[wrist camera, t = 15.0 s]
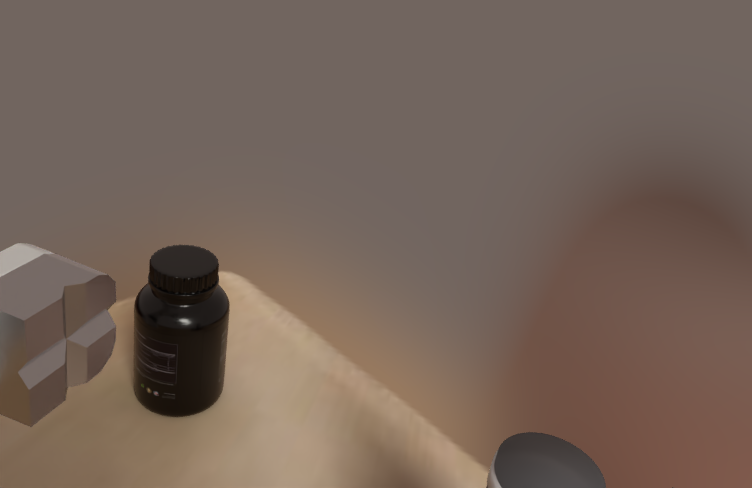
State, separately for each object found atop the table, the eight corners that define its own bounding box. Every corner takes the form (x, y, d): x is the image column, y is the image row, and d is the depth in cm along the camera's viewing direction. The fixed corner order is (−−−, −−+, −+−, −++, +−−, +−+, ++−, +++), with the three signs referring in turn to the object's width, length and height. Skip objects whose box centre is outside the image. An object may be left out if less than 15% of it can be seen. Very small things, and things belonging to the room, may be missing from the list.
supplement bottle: (174, 353, 60) (181, 227, 55) (239, 386, 58) (253, 259, 53) (113, 395, 55) (114, 260, 49) (183, 434, 52) (192, 297, 47)
